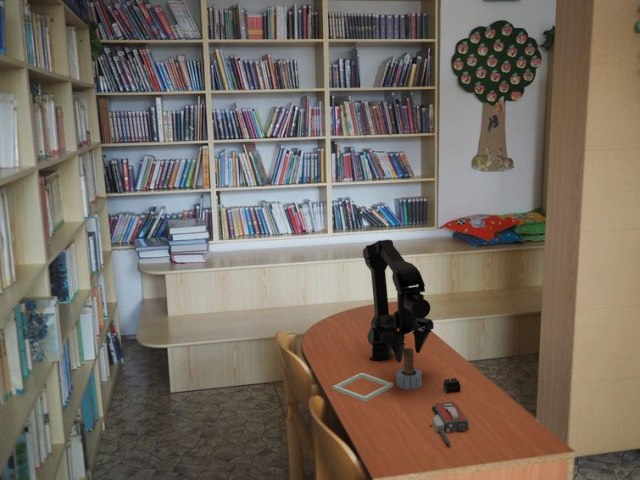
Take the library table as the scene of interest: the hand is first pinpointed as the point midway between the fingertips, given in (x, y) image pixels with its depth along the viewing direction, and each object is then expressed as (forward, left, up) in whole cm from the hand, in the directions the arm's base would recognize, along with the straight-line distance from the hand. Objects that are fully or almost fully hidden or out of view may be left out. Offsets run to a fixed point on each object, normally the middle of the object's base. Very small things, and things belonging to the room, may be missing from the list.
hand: (408, 357), depth 198 cm
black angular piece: (-4, +13, -10) cm, 17 cm away
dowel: (0, 0, -9) cm, 9 cm away
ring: (0, 0, -9) cm, 9 cm away
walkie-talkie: (+13, +24, -10) cm, 29 cm away
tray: (+11, -9, -9) cm, 17 cm away
